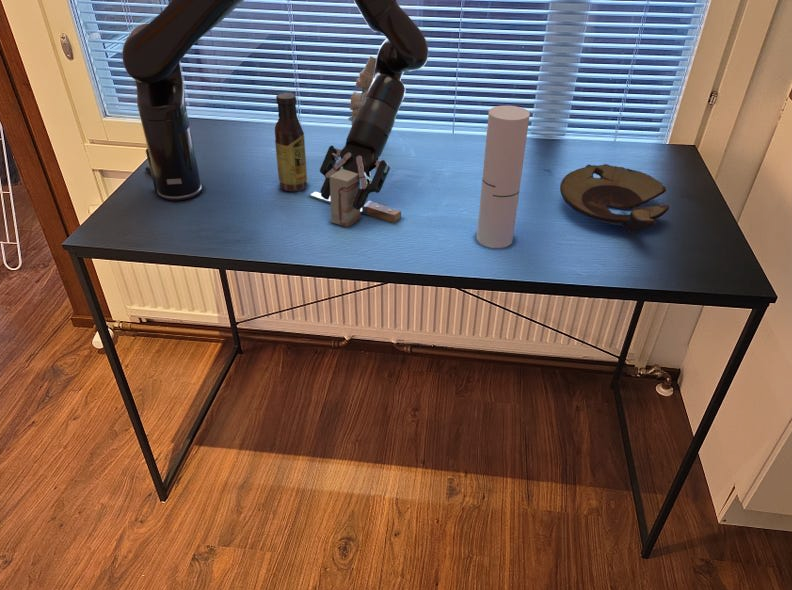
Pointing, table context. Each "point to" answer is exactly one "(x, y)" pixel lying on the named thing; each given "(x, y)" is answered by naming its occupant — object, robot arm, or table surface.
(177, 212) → the table surface
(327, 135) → the table surface
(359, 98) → the figurine
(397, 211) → the knife
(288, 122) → the sauce bottle
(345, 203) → the tan rectangular box
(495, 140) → the cylindrical container
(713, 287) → the table surface
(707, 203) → the table surface
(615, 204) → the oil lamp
